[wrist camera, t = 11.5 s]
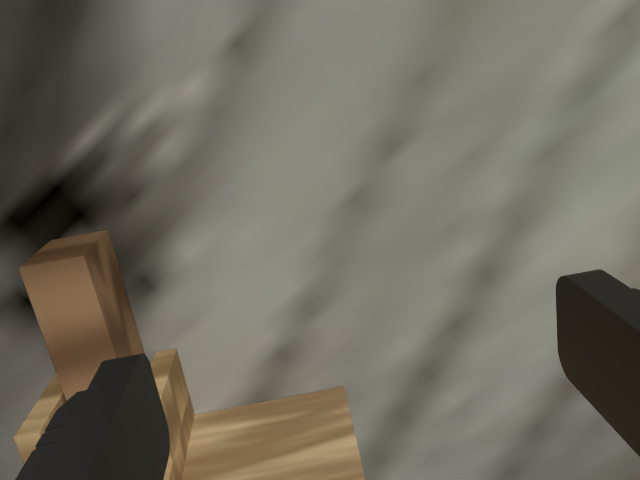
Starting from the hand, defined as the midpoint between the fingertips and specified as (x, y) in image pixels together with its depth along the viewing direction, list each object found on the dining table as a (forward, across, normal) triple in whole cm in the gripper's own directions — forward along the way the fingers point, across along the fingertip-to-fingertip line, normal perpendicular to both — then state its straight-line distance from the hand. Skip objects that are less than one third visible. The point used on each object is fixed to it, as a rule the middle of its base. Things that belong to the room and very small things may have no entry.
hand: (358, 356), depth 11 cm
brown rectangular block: (+30, +16, +10) cm, 35 cm away
